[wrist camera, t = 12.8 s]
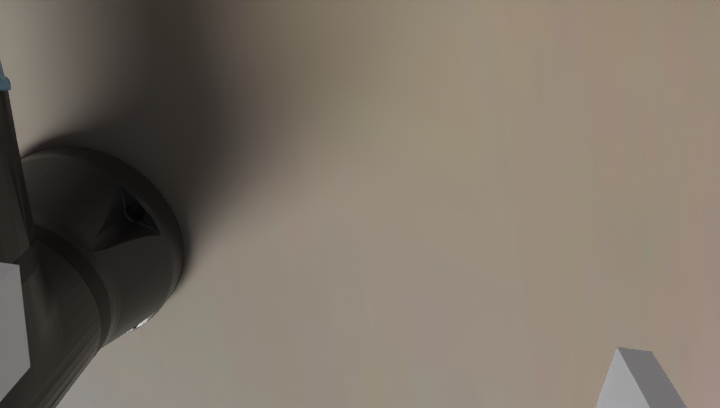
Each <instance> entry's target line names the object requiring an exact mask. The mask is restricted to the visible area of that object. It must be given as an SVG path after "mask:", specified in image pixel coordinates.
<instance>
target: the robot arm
mask: <svg viewBox="0 0 720 408" xmlns="http://www.w3.org/2000/svg"><path fill="white" fill-rule="evenodd" d="M8 90H11V84H10V81H9V79H8V78H7V77H5V76H4V72H3V69H2V65H1V61H0V408H56V406H57V405H58V404H59V402H60V401H61V400H62V398H63V397H64V396H65V394H66V393H67V392H68V390H69V389H70V388H71V386H72V385H73V384H74V382H75V381H76V380H77V378H78V377H79V376H80V375H81V373H82V372H83V371H84V369H85V368H86V367H87V365H88V364H89V363H90V361H91V360H92V359H93V357H94V356H95V355H96V354H97V352H98V351H99V350H100V348H102V347H104V346H105V345H107V344H108V343H110V342H112V341H113V340H115V339H117V338H118V337H120V336H121V335H124V334H126V333H129V332H131V331H133V330H135V329H137V328H138V327H140V326H142V325H143V324H145V323H146V322H147V321H149V320H150V319H151V318H152V317H153V316H154V315H155V314H156V313H157V312H158V311H159V310H160V309H161V307H162V306H163V305H164V303H165V302H166V300H167V299H168V298H169V296H170V295H171V293H172V292H173V290H174V288H175V287H176V285H177V283H178V280H179V278H180V274H181V271H182V266H183V242H182V237H181V233H180V229H179V226H178V223H177V221H176V219H175V216H174V214H173V212H172V210H171V209H170V207H169V205H168V204H167V202H166V201H165V199H164V198H163V197H162V195H161V194H160V193H159V192H158V190H157V189H156V188H155V187H154V186H153V185H152V184H151V183H150V182H149V181H148V180H147V179H146V178H145V177H143V176H142V175H141V174H140V173H138V172H137V171H136V170H134V169H133V168H131V167H130V166H128V165H127V164H125V163H123V162H121V161H119V160H118V159H115V158H113V157H111V156H108V155H106V154H103V153H100V152H97V151H93V150H89V149H83V148H75V147H58V148H50V149H46V150H42V151H39V152H36V153H33V154H31V155H29V156H27V157H25V158H23V159H21V158H20V153H19V148H18V143H17V138H16V132H15V127H14V121H13V116H12V110H11V105H10V99H9V94H8ZM595 408H687V407H686V406H685V404H684V402H683V401H682V399H681V398H680V396H679V394H678V393H677V391H676V390H675V388H674V386H673V385H672V383H671V382H670V380H669V378H668V377H667V375H666V374H665V372H664V370H663V369H662V367H661V366H660V364H659V362H658V361H657V359H656V358H655V356H654V354H653V353H652V352H650V351H643V350H636V349H628V348H621V347H617V348H616V351H615V354H614V356H613V359H612V362H611V365H610V368H609V370H608V373H607V376H606V379H605V382H604V384H603V387H602V390H601V393H600V396H599V398H598V401H597V404H596V407H595Z"/></svg>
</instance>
